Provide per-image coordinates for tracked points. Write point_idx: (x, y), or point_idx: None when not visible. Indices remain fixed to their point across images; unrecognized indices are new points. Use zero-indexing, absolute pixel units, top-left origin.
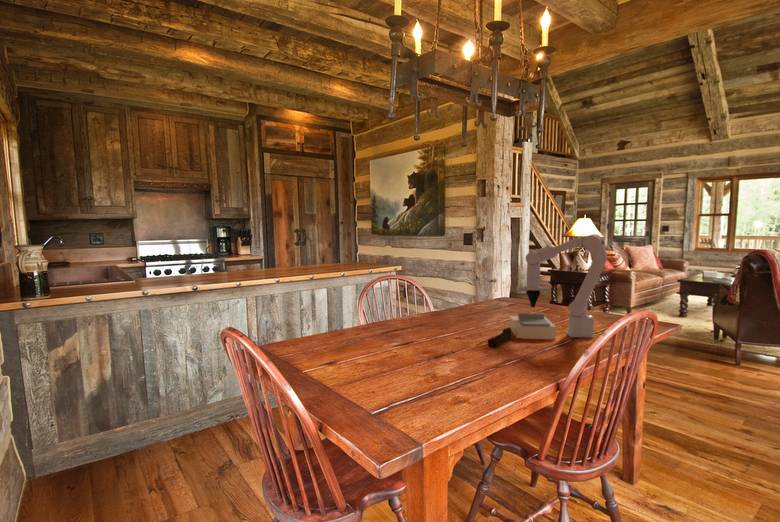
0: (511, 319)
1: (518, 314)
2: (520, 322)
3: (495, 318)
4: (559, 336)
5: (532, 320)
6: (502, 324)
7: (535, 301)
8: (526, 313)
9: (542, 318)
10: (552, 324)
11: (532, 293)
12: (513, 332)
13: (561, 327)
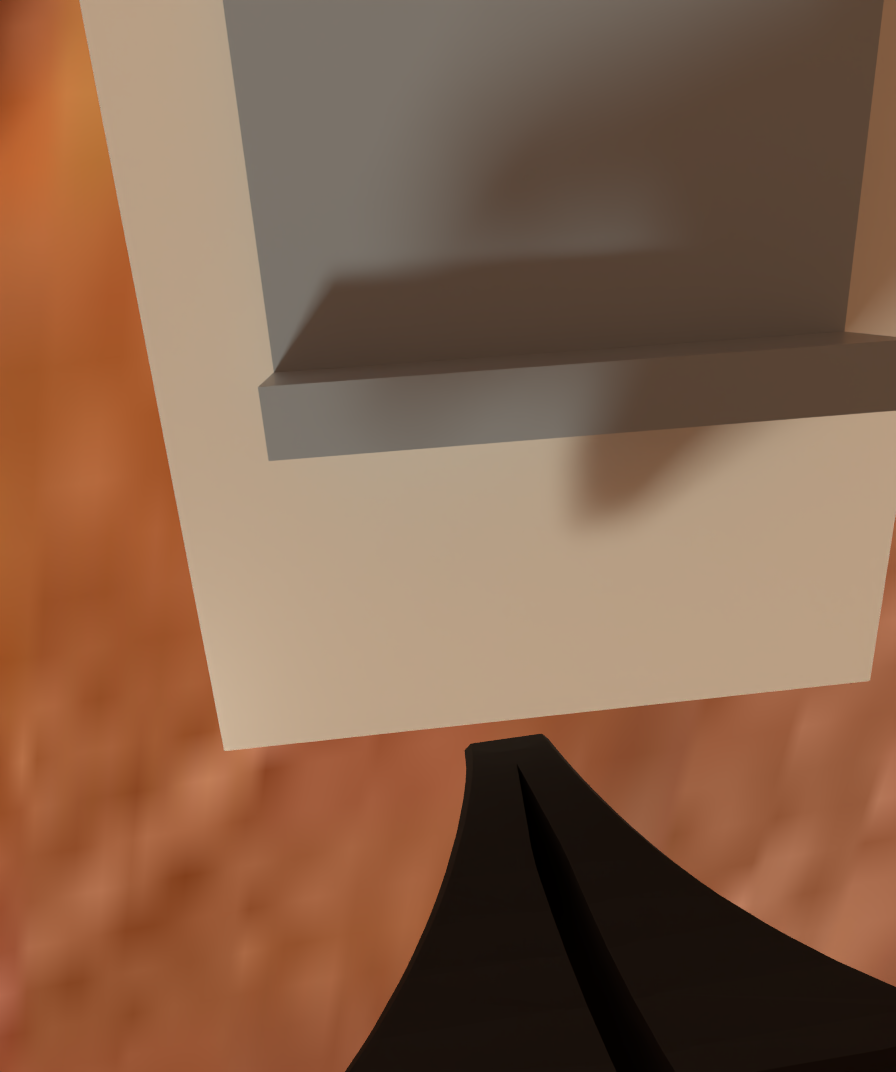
0: (885, 484)
1: (893, 373)
2: None
3: None
4: (59, 156)
5: (587, 122)
6: (815, 718)
7: (485, 839)
8: (713, 404)
9: (315, 369)
10: (114, 23)
11: (798, 1065)
12: None
13: (6, 707)
